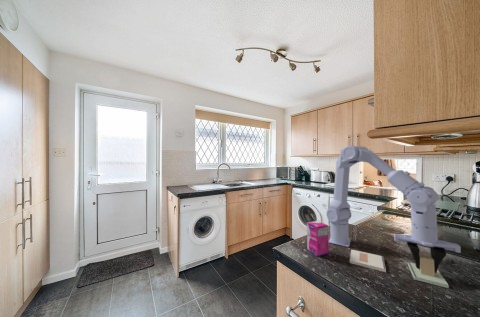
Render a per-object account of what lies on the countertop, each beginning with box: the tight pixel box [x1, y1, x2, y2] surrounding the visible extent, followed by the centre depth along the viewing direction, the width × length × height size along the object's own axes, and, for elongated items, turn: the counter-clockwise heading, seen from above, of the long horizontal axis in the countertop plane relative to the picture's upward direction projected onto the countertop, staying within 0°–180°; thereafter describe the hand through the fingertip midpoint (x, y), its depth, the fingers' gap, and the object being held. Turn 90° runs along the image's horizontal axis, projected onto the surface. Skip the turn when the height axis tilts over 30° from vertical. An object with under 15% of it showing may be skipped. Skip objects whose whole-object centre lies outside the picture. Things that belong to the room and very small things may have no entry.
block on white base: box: [407, 252, 450, 289], centre depth 56 cm, size 10×7×6 cm
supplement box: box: [306, 220, 330, 257], centre depth 72 cm, size 6×6×12 cm
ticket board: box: [349, 249, 387, 273], centre depth 65 cm, size 10×10×1 cm
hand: (425, 269), depth 56 cm, fingers closed on block on white base, 3 cm apart
